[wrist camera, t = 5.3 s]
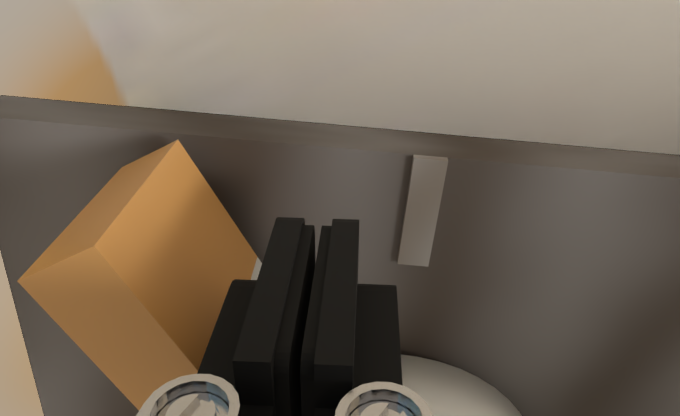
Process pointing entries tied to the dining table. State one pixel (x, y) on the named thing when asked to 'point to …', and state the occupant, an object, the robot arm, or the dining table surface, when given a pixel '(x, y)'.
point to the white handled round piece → (178, 285)
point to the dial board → (394, 243)
